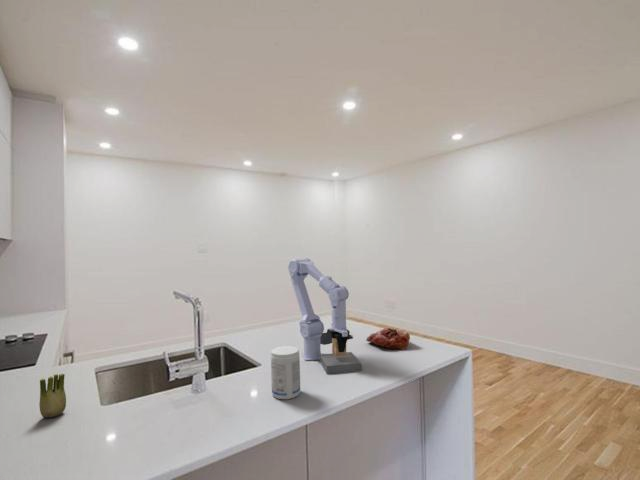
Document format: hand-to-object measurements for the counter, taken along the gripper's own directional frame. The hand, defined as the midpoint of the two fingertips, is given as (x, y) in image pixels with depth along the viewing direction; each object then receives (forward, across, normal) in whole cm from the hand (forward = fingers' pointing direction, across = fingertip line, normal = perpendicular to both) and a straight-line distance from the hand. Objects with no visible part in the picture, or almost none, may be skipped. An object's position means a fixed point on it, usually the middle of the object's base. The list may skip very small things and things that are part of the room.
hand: (339, 350), depth 139 cm
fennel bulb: (+7, +12, -94) cm, 95 cm away
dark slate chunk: (+7, -40, +9) cm, 42 cm away
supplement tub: (+7, +19, -26) cm, 33 cm away
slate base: (+6, 0, 0) cm, 6 cm away
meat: (+7, -20, +32) cm, 38 cm away
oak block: (+2, 0, 0) cm, 2 cm away
